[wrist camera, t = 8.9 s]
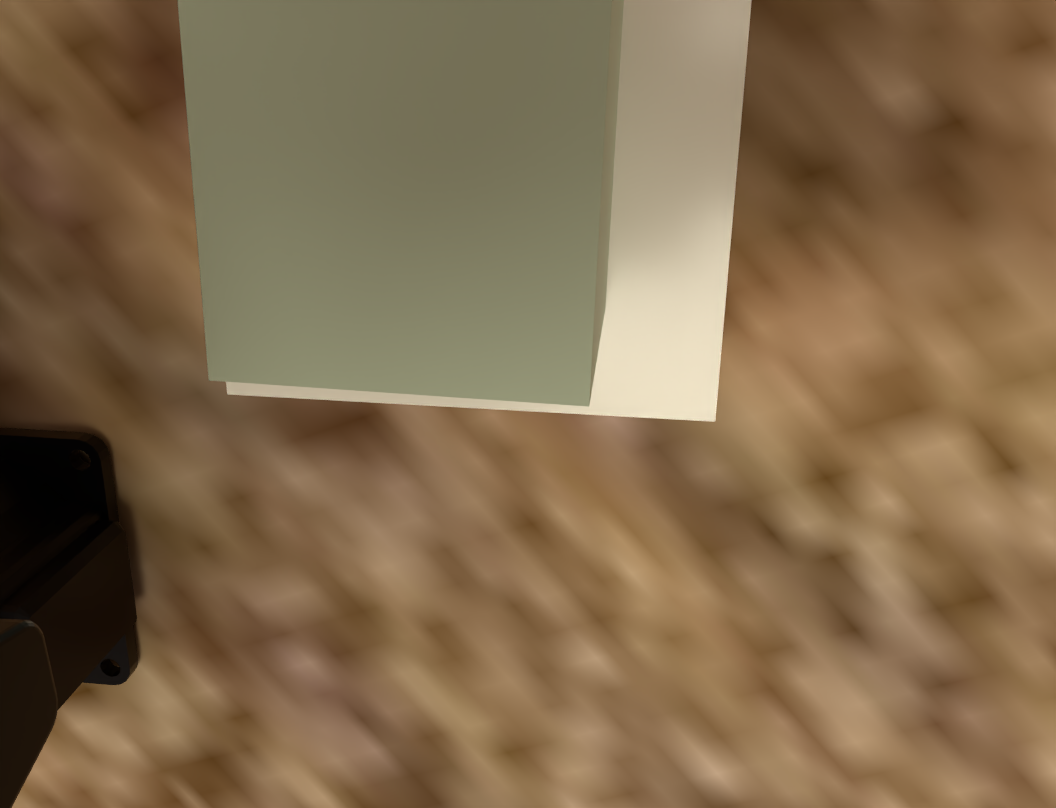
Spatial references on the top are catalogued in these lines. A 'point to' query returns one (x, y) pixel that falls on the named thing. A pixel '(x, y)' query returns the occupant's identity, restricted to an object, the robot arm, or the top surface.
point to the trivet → (653, 220)
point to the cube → (404, 192)
